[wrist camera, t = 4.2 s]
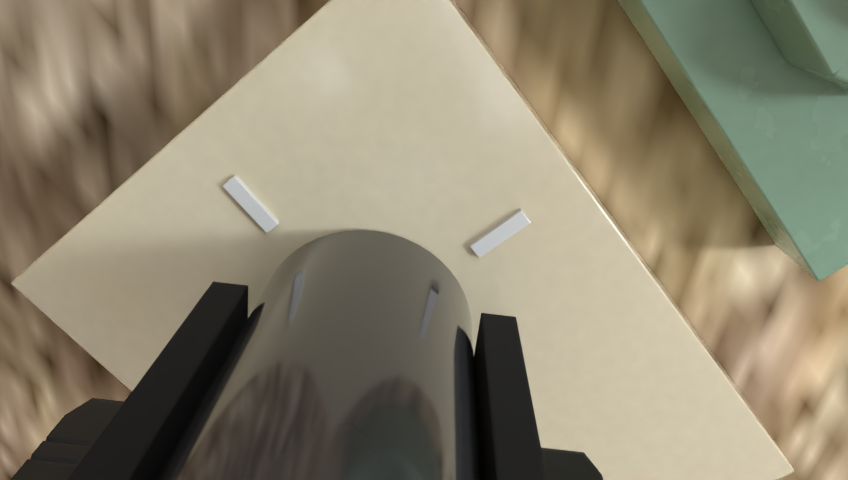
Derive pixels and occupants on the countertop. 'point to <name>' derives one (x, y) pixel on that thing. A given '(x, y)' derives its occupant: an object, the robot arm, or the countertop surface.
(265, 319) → the hob knob
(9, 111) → the countertop surface
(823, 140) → the red push button panel
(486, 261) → the hob console
